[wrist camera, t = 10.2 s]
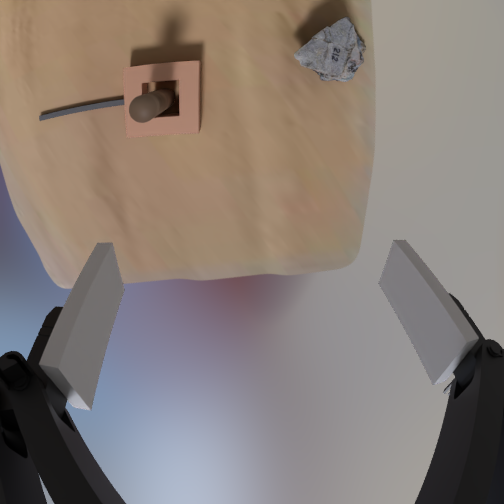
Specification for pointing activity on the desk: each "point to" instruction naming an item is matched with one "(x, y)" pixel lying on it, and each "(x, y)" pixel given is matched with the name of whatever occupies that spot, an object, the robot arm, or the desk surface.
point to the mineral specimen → (333, 52)
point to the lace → (82, 109)
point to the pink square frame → (188, 98)
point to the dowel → (150, 105)
